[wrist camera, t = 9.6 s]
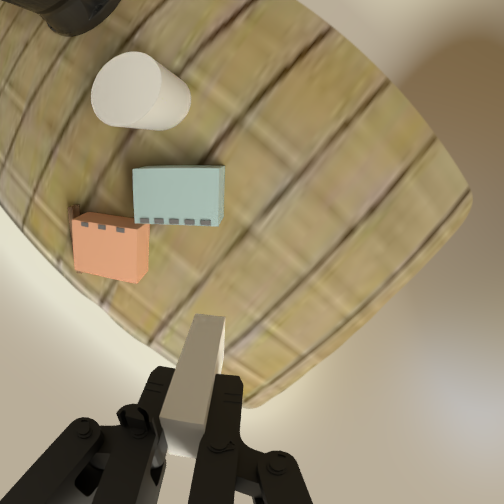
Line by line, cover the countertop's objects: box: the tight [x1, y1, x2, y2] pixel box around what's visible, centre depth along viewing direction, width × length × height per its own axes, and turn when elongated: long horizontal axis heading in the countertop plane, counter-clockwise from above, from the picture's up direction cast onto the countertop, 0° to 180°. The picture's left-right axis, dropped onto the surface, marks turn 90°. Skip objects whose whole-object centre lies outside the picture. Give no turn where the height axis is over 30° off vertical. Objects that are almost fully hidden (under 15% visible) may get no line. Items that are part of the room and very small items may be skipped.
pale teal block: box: [133, 165, 225, 226], centre depth 36 cm, size 7×11×5 cm, turn 87°
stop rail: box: [68, 205, 83, 273], centre depth 41 cm, size 11×1×2 cm, turn 177°
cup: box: [91, 52, 191, 131], centre depth 29 cm, size 8×8×12 cm
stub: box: [72, 212, 150, 284], centre depth 40 cm, size 8×11×5 cm
